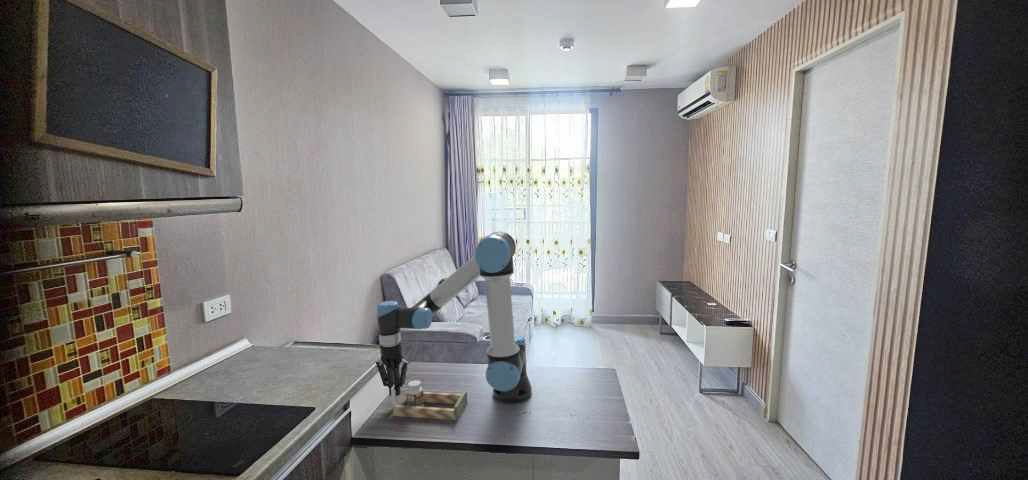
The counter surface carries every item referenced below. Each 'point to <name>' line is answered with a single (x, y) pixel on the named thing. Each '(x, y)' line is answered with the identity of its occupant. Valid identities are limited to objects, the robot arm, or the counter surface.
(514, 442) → the counter surface
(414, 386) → the pill bottle
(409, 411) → the bay
